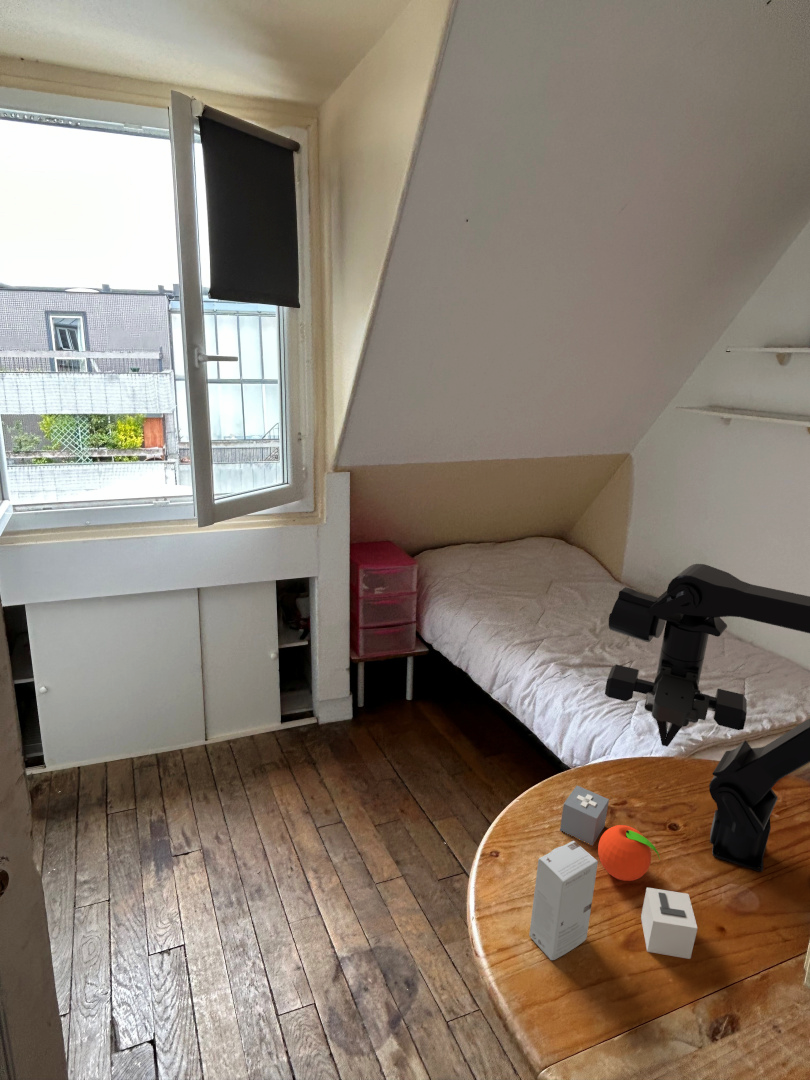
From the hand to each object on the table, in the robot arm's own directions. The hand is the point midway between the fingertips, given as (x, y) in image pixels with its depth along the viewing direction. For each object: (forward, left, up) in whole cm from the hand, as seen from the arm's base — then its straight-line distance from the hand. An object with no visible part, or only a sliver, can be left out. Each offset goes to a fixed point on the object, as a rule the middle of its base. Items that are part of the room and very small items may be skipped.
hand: (664, 744), depth 102 cm
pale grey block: (-4, +23, -12) cm, 26 cm away
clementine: (+2, +15, -12) cm, 19 cm away
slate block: (+9, +9, -12) cm, 18 cm away
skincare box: (+8, +29, -12) cm, 32 cm away
